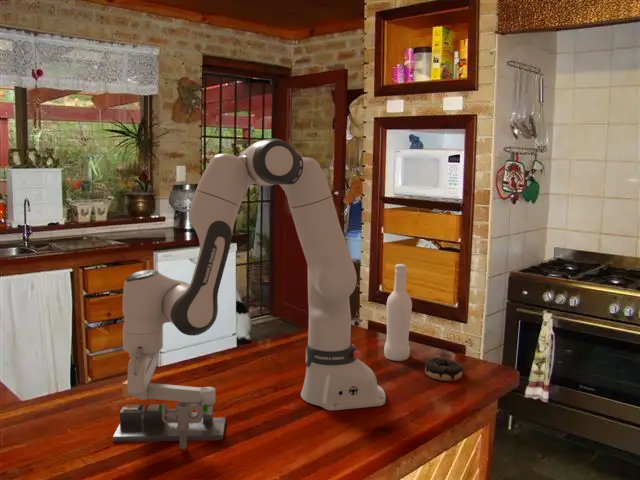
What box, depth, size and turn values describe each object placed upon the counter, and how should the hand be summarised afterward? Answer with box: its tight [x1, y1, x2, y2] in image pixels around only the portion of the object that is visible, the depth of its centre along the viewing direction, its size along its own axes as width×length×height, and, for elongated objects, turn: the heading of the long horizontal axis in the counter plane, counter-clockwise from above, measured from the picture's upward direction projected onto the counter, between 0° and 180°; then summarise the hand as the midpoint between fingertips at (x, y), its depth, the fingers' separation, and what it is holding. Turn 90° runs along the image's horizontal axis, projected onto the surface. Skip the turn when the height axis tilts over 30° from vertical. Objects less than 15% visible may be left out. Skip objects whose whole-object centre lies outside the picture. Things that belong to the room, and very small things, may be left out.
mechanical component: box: [159, 401, 208, 450], centre depth 135 cm, size 3×10×10 cm, turn 95°
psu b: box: [119, 404, 145, 426], centre depth 144 cm, size 5×4×4 cm
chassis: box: [112, 404, 226, 443], centre depth 142 cm, size 24×9×6 cm, turn 95°
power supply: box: [143, 403, 165, 426], centre depth 144 cm, size 5×4×4 cm
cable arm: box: [121, 379, 216, 405], centre depth 146 cm, size 22×4×3 cm, turn 81°
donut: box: [424, 357, 464, 382], centre depth 183 cm, size 11×12×4 cm
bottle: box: [383, 263, 413, 362], centre depth 195 cm, size 8×8×30 cm
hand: (143, 398), depth 145 cm, fingers closed
